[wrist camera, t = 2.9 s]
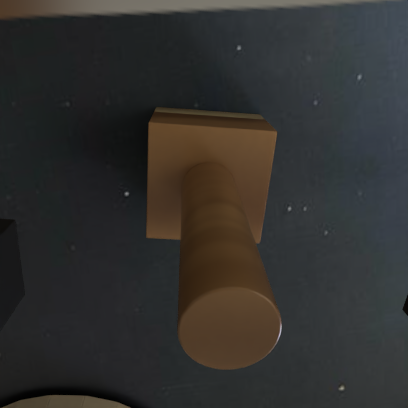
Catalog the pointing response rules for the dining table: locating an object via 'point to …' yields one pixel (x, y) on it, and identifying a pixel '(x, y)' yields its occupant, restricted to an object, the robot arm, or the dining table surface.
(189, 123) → the brown wooden stamp
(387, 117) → the dining table surface
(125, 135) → the dining table surface
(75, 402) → the bowl
